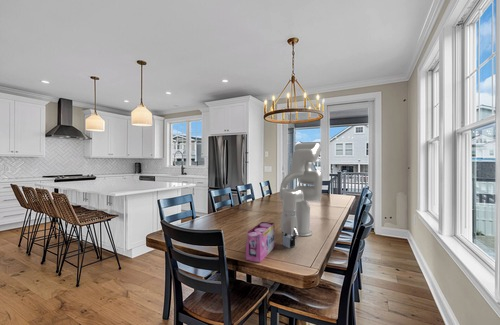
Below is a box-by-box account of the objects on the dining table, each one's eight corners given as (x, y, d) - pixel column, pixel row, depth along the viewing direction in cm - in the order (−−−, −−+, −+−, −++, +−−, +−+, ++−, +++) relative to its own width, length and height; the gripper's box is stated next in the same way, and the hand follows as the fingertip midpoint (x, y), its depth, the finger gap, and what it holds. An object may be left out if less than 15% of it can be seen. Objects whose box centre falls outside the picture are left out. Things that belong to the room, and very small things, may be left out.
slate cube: (282, 245, 137) (282, 236, 137) (289, 243, 140) (289, 235, 139) (288, 247, 133) (288, 239, 133) (295, 246, 135) (295, 237, 135)
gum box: (259, 264, 113) (259, 235, 112) (244, 261, 116) (244, 233, 116) (274, 246, 135) (274, 222, 134) (261, 244, 138) (261, 221, 137)
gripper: (274, 210, 141) (274, 241, 141) (294, 216, 126) (294, 251, 127) (284, 209, 145) (284, 239, 145) (304, 215, 130) (304, 248, 131)
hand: (289, 244), depth 136 cm, fingers closed on slate cube, 4 cm apart
